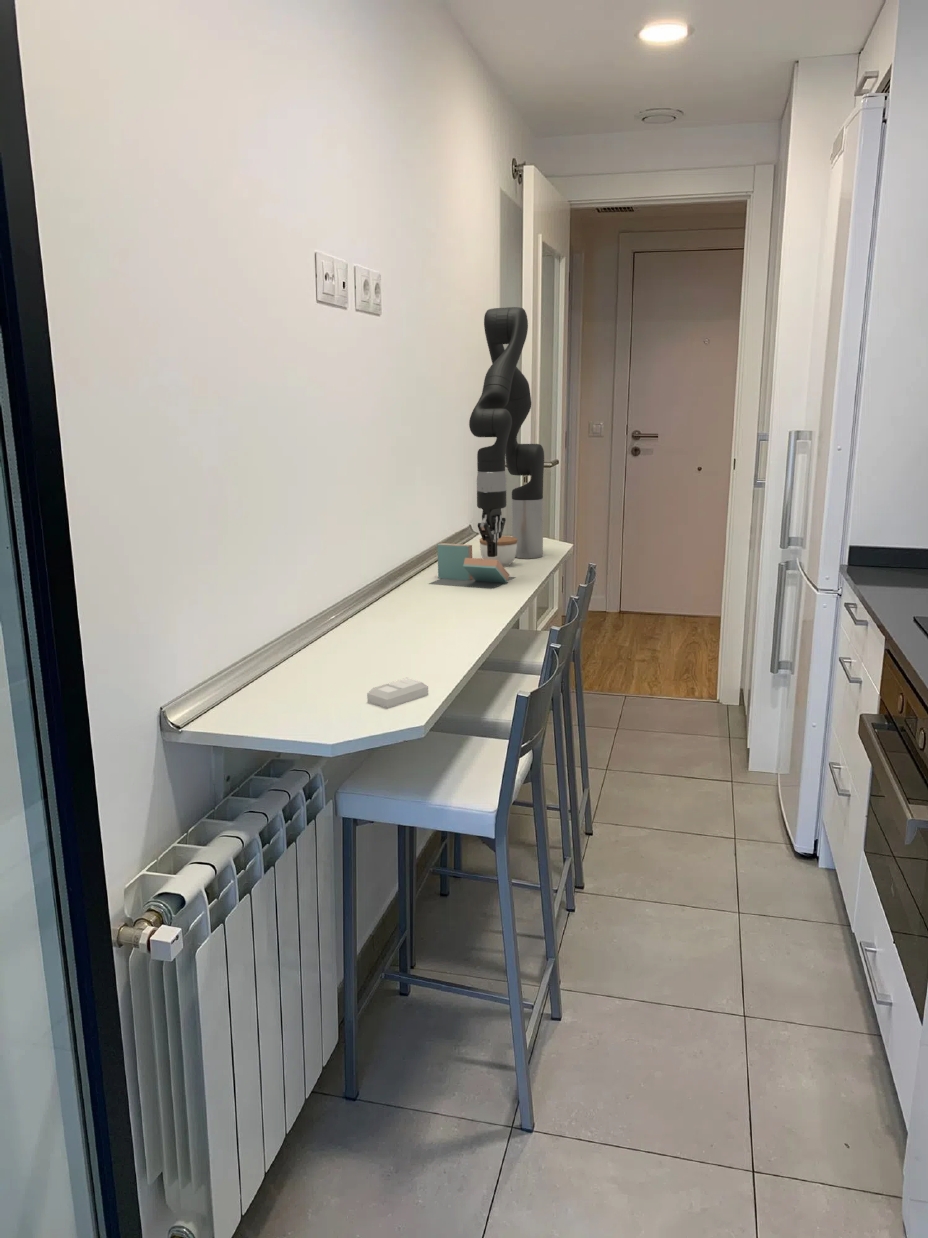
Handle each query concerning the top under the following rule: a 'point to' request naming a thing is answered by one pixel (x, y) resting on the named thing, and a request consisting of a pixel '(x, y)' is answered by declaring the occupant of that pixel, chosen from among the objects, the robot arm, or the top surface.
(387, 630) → the top surface
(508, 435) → the robot arm
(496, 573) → the tile
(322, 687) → the top surface
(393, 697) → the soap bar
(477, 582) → the mat
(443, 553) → the tile
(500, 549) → the lidded jar
